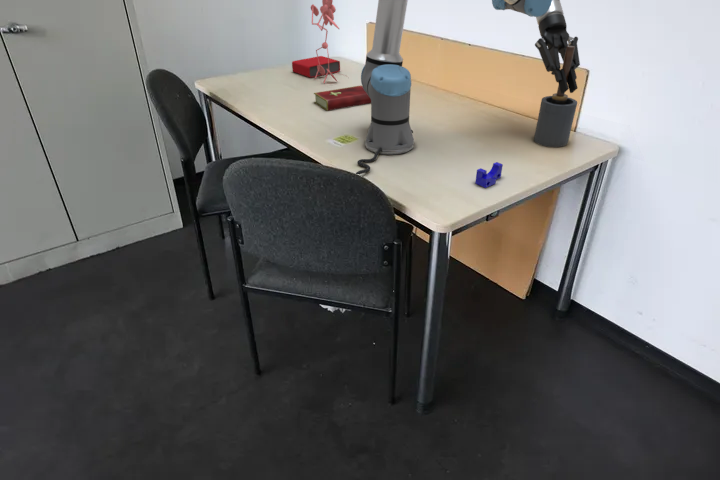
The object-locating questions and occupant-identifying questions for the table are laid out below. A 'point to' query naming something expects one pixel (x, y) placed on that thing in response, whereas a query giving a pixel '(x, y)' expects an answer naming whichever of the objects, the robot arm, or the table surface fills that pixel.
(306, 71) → the audio interface
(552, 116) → the grey cylindrical holder
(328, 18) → the figurine
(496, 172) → the cable holder
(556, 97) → the brush
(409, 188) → the table surface
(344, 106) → the hardcover book
